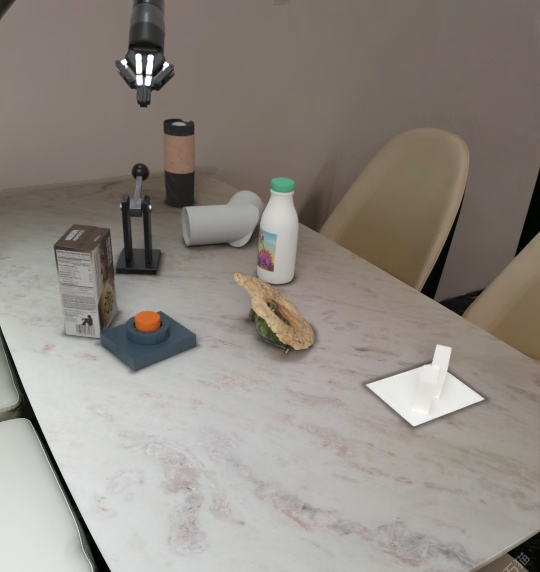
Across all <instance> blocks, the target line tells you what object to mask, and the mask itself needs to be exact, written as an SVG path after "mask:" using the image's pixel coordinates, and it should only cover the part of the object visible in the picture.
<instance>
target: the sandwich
mask: <svg viewBox="0 0 540 572" xmlns="http://www.w3.org/2000/svg"><path fill="white" fill-rule="evenodd" d="M233 278H234V280H235V282H236V283H237V285H238V286H239V287H241V288H243V289H245V292H246V293H248V295H249V296H250V298H251V299H250V305H251V309H250V311H249V313H248V319H249V320H250V321H251V322H253V320H254V325H255V329H256V332H257V333H258V335H259V337H261V338H262V339H263V340H264V341H265V342H266V343H267V344H271V345H272V346H276V347H279V348H281V349H283V350H284V354H287V353H288V352H289V351H290V349H289V348H287V345H288V346H291V347H292V348H293V349H294V350H295V351H298V350H306V349H309V347H310V346H313V345H314V342H315V338H314V337H315V335H314V330H313V329H312V327H311V325H310V324H309V322H308V321H307V320H306V318H305V317H304V316H303V315H302V313H301V312H300V311H299V310H298V309H297V307H296V306H295V305H294V303H292V302H291V301H290V300H289V299H288V298H286V296H284V295H283V294H282V293H281V292H280V291H279V290H277V289H276V288H274V287H273V286H272V285H271V284H270V283H267V282H265V281H263V280H261V279H260V278H258V277H256V276H253V275H244V274H242V273H239V272H235V273H234V274H233ZM254 317H255V319H254Z"/></svg>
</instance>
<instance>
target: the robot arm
mask: <svg viewBox="0 0 540 572" xmlns="http://www.w3.org/2000/svg"><path fill="white" fill-rule="evenodd" d="M16 1H17V0H0V21H2V19H3V17H5V15H6V14H7V12H8V11H9V10H10V8H11V7H12V6H13V5H14V3H15V2H16ZM165 11H166V0H131V13H130V17H129V27H128V43H127V44H128V45H127V51H126V53H125V56H124V58H123V59H122V60H119V59H116V60H115V61H114V65H115V69H116V72H117V73H118V74H119V76H120V77H121V78H122V80H123V81H124V82H125V84H126V85H127V86H128V87H129V89H131V90H136V94H135V95H136V97H135V99H136V103H137V105H139V107H140V108H147V109H148V106H150V105H151V102H152V92H153V91H156V92H159V91H160V90H161V89H163V88H164V86H166V84H168V82H170V80H172V79H173V77H174V76H175V75H176V74H175V65H174V64H173V63H168V62H167V60H166V56H165V41H166V40H165V38H166V21H165ZM128 68H129V69H130V70H131V71H132V73H133V74H134V76H136V79H135V77H134V76H133V75H132V74H131V73H130V72H129V69H128Z"/></svg>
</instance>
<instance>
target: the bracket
mask: <svg viewBox="0 0 540 572" xmlns="http://www.w3.org/2000/svg"><path fill="white" fill-rule="evenodd" d="M130 198H131V197H130V194H128V193H127V194H123V196H122V199H121V201H120V204H119V211H121V220H122V234H123V247H122V249H121V252H120V255H119V257H118V261H117V264H116V266H115V273H116V274H123V275H124V274H125V275H149V276H150V275H151V276H152V275H153V276H156V275H157V274H158V270H159V265H160V260H161V255H162V250H161V249H160V248H153V238H152V237H153V236H152V217H151V215H152V214H151V213H152V212H153V205H152V204H151V196H150V194H149V195H147V194H144V197H143V198H142V207H143V211H142V223H143V225H142V226H143V244H144V245H143V246H144V248H139V247H138V248H137V247H136V248H135V247H134V246H133V234H132V233H133V232H132V231H133V230H132V217H131V216H130V210H129V206H130Z"/></svg>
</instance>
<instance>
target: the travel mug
mask: <svg viewBox="0 0 540 572" xmlns="http://www.w3.org/2000/svg"><path fill="white" fill-rule="evenodd" d="M162 125H163V164H164V165H163V169H164V170H163V171H164V172H163V173H164V186H165V202H166V204H167V205H168V206H171V207H175V208H183V207H190V206H194V202H195V179H196V177H195V176H196V149H195V147H196V145H195V143H196V142H195V141H196V140H195V122H194V121H193V120H189V121H184V120H183V119H182V118H168V119H167V118H166V119H165V120H163V124H162Z"/></svg>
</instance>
